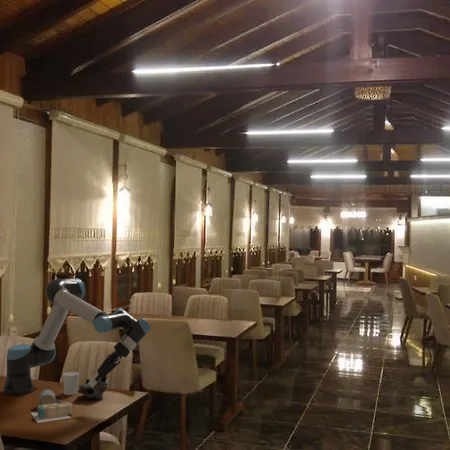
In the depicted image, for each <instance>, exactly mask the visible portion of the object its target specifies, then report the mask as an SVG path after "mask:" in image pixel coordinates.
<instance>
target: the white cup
mask: <svg viewBox="0 0 450 450" xmlns="http://www.w3.org/2000/svg"><path fill="white" fill-rule="evenodd" d="M79 376H80V373H79V372H77V371H70V372H69V371H67V372H64V373H63V374H62V378H63V380H62V381H63V382H62V383H63V394H64V395H66V396H73V395H74V396H75V395H77V394H79V392H77V391H78V390H79V384H80V383H79V381H80V380H79V379H80V377H79Z"/></svg>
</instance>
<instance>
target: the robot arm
mask: <svg viewBox="0 0 450 450" xmlns="http://www.w3.org/2000/svg"><path fill="white" fill-rule="evenodd" d="M85 294H86V288H85V285H84V282H83V281H82V280H81V278H77V277H69V278H55V279H53V280H51V281H50V282H48V283H47V284H46V285H45V290H44V295H45V297H46V300H47V301H48V302H49V303H51V304H52V307H51V310H50V312H49V314H48V316H47V318H46V319H45V322H44V325H43V326H42V328H41V331H40V333H39V335H38V336H37V337H35V338H33V342H32V343H31V344H29V343H21V344H16V345H12V346H10V347H8V348H7V350H6V351H7V352H6V378H5V382H4V384H3V386H2V393H3V394H4V395H7V396H10V395H11V396H16V395H19V396H20V395H25V394H29V393H32V392H33V391H34V390H35V385H34V381H33V379H32V376H31V368H37V367H41V366H46V365H48V364H50V363H52V362H53V361H54V360H55V357H56V354H57V353H56V344H55V341H56V338H57V337H58V335H59V332H60V330H61V328H62V327H63V324H64V322H65V320H66V317H67V315H68V313H69V312H70V313H72V314H74V315H76V316H78V318H79V317H80V318H81V319H83V320H85V321H86V322H88V323H90V324H92V325H93V327H94V329H95V331H96V332H98V333H107V332H111V331H115V330H121V329H123V330H124V331H125V332H126V333H125V334H124V335H123V336H122V337H121V338H120V340H119V342H117V343H116V344H115V345H114V346H113V349H115V351H113V352H112V353H109V354H108V355H107V356H106V358H105V359H104V361H103V362H102V363H101V364H100V366H99V367H98V368H97V373H96V374H95V375H93V376H92V378H91V380H90V382H89V383H88V384H89V385H90V386H91V387H92V388H93V387H94V386H95V385H96V384H97V382H98V381H99V380H100V379H101V378H102V377H104V376H108V375H109V374H110V373H111V372H112V371H113V370H114V369H115V368H116V367H117V366H118V365H119V364H120V363H121V359H122V358H127V357H128V355H130V354H131V352H132V351H133V350H134V349H136V346H137V345H138V344H139V343H140V341H142V339H143V338H144V337H145V336H146V335H147V334H148V333H149V332H150V330H151V328H152V325H150V323H149V322H148V321H147V320H146V319H145V318H143V317H139V318H138V319H137V318H135V317H134V316H133V315H132V314H130V312H128V311H126V310H124V309H123V308H117V309H116V310H114V312H113V313H111V314H108V313H106V312H104V311H103V310H101V309H99V308H97V307H96V306H94V305H92V304H90V303H88V302H87V301H85V300H83V297H85Z"/></svg>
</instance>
